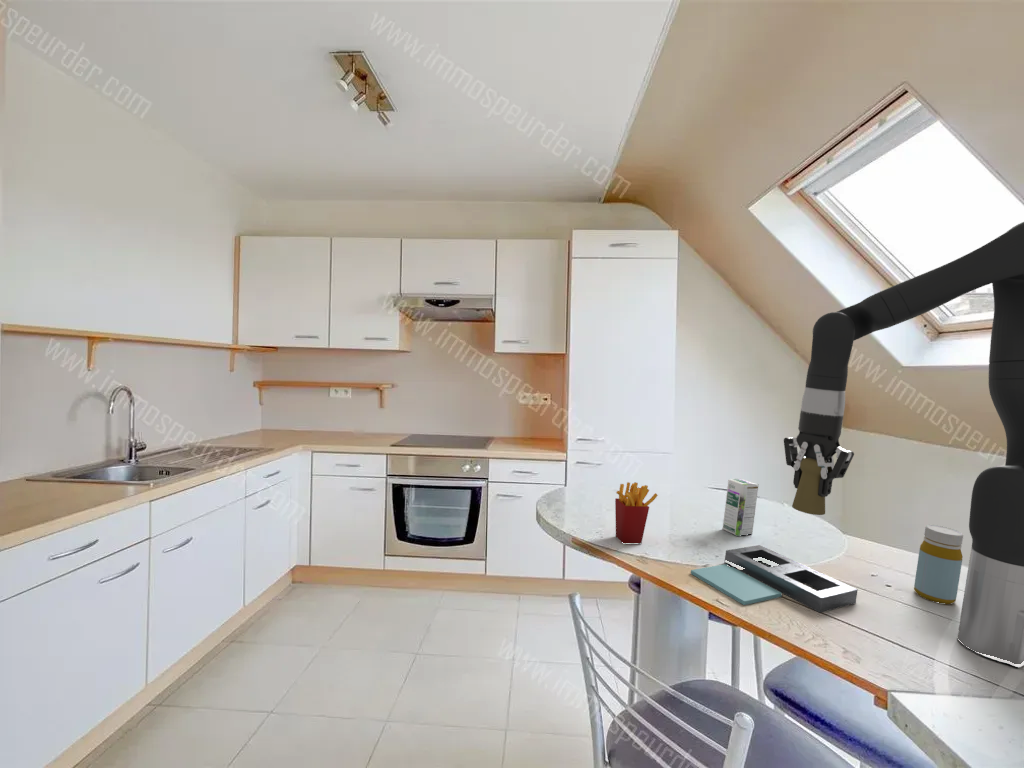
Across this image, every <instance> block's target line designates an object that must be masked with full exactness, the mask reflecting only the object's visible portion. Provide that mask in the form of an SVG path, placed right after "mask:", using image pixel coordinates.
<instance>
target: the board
mask: <svg viewBox="0 0 1024 768" xmlns="http://www.w3.org/2000/svg"><path fill="white" fill-rule="evenodd" d="M727 565H728V564H726V563H723V564H719V565H712V566H708V567H701V568H695V569H691V570H690V574H691V575H692V576H694V577H696V578H697V579H699V580H701V581H702V582H704V583H706V584H707V585H709V586H711V587H713V588H714V589H716V590H718V591H719V592H721V593H723V594H725V596H728V597H729V598H731V599H733V600H735V601H736V602H738V603H740V604H741V605H743V606H747V605H751V604H755V603H759V602H765V601H769V600H774V599H777V598H782V595H783V593H781V592H779V591H777V590H776V589H774V588H772V587H770V586H768V585H766V584H764V583H762V582H760V581H758V580H757V579H755V578H753V577H751V576H749V575H747V574H745V573H743V572H741V571H739V570H738V569H736V568H734V567H729V566H727Z"/></svg>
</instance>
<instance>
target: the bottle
mask: <svg viewBox="0 0 1024 768" xmlns="http://www.w3.org/2000/svg"><path fill="white" fill-rule="evenodd" d="M924 528H925V529H924V533H923V534H924V536H923V541H922V542H921V544H920V546H919V550H918V558H917V565H916V570H915V578H914V585H913V586H914V587H913V590H914V592H915V594H917V595H918V596H919V597H921V598H922V599H925V600H927V601H930V602H932V601H934V602H933V603H936V602H939V603H938V604H940V603H945V604H944V605H952V604H953V603H955V602H956V601H957V596H958V589H959V584H960V578H961V577H960V576H961V570H962V564H963V553H962V545H963V539H964V533H963V532H961V531H959V530H957V529H954V528H951V527H947V526H944V525H938V524H937V525H935V524H927V525H925V527H924ZM951 603H952V604H951Z"/></svg>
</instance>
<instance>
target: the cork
mask: <svg viewBox="0 0 1024 768" xmlns="http://www.w3.org/2000/svg"><path fill="white" fill-rule="evenodd" d="M825 463H827V462H826V461H825ZM800 468H801V470H802V475H801V478H800V481H799V485H798V488H796V492H795V495H794V499H793V502H792V508H793V509H794V510H796V511H798V512H802V513H805V514H809V515H813V516H814V515H815V516H823V515H826V497H821V496H819V495H818V491H819V483H820V478H822V477H821V467H819V466H818V463H817V460H815V459H812V458H804V459H803V460H802V461H801V463H800ZM827 470H829V467H827Z"/></svg>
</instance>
